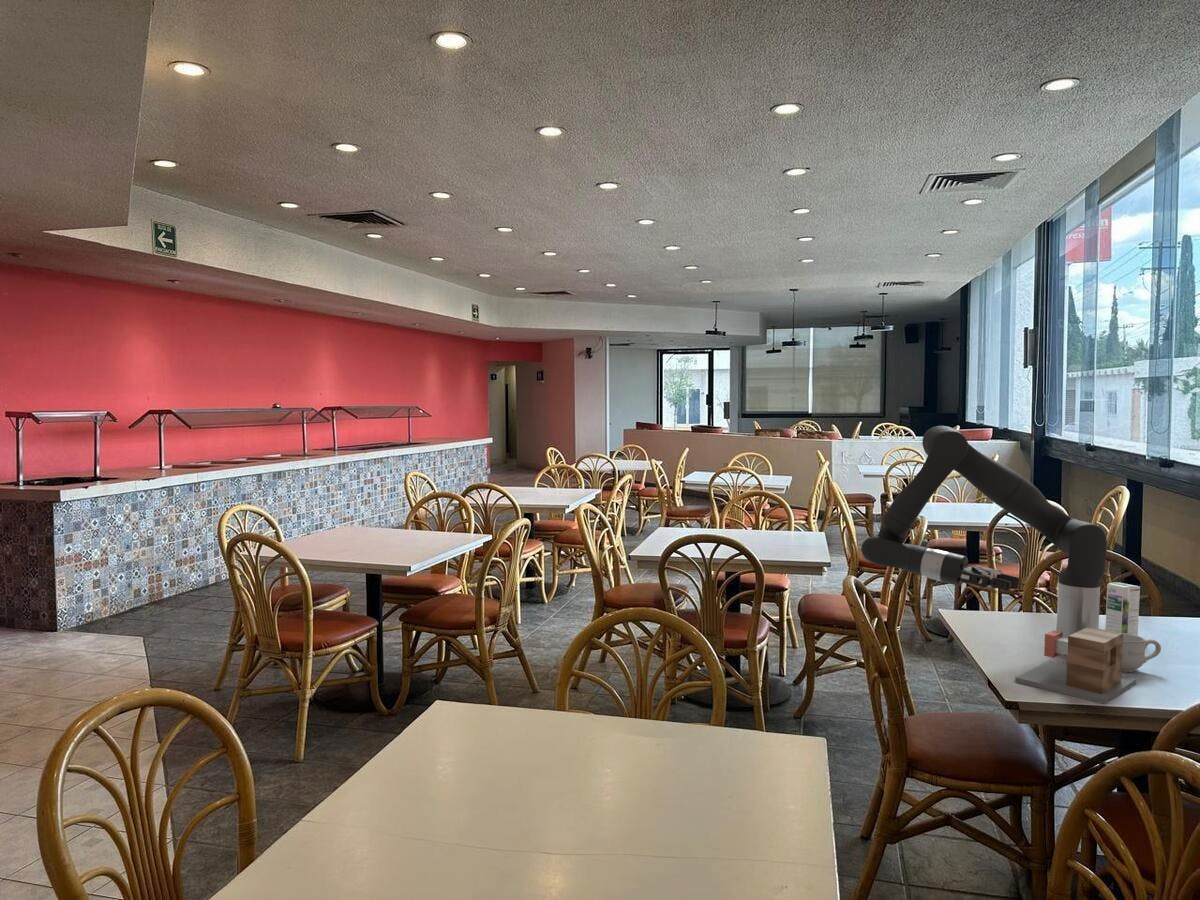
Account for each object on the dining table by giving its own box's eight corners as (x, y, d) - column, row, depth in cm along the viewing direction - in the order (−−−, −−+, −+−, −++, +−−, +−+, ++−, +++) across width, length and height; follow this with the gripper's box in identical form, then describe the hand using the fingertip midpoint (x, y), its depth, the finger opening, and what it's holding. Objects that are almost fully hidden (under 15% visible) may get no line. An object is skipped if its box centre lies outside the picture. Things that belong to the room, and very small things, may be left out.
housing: (1085, 678, 186) (1088, 626, 185) (1120, 686, 181) (1123, 633, 180) (1066, 690, 178) (1068, 635, 178) (1101, 698, 173) (1104, 643, 172)
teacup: (1092, 671, 192) (1094, 637, 191) (1089, 658, 201) (1090, 626, 201) (1163, 681, 185) (1165, 646, 185) (1157, 667, 195) (1158, 634, 194)
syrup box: (1103, 635, 222) (1106, 583, 222) (1117, 633, 225) (1119, 581, 224) (1124, 641, 217) (1127, 587, 217) (1138, 638, 220) (1141, 585, 219)
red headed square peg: (1052, 651, 188) (1053, 630, 188) (1096, 661, 181) (1097, 638, 181) (1044, 655, 185) (1045, 634, 185) (1088, 665, 178) (1089, 642, 178)
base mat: (1050, 664, 197) (1050, 660, 196) (1135, 683, 183) (1136, 679, 183) (1015, 681, 183) (1015, 677, 183) (1104, 704, 170) (1105, 699, 170)
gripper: (937, 554, 196) (1010, 572, 186) (955, 549, 207) (1024, 566, 197) (932, 584, 197) (1004, 603, 186) (949, 578, 208) (1018, 596, 197)
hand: (1014, 584), depth 192 cm, fingers open, 8 cm apart
